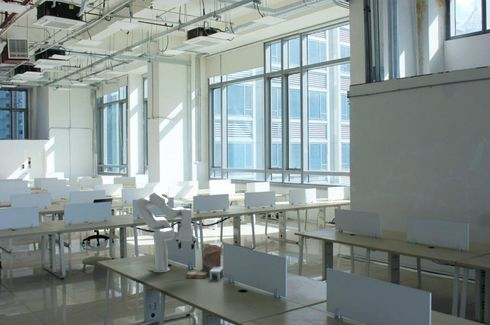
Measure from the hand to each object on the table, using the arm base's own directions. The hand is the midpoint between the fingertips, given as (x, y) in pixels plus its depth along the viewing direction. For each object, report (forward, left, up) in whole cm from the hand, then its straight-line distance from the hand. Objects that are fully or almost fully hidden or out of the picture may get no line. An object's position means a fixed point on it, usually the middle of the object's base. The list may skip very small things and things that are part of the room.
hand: (186, 248), depth 382 cm
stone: (+15, +17, -20) cm, 30 cm away
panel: (+9, -2, -20) cm, 22 cm away
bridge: (+23, -2, -20) cm, 30 cm away
